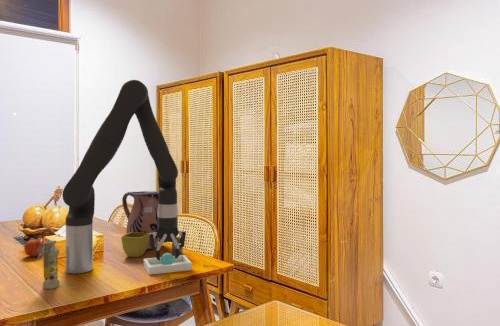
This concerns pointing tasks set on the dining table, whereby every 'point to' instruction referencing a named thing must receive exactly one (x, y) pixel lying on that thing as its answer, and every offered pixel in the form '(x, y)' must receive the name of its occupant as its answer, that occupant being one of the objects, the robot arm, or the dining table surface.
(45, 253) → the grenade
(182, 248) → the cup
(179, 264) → the tray
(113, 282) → the dining table surface
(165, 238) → the robot arm
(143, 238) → the flower pot
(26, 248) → the fruit
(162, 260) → the ball
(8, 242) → the dining table surface
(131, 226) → the ceramic pitcher
